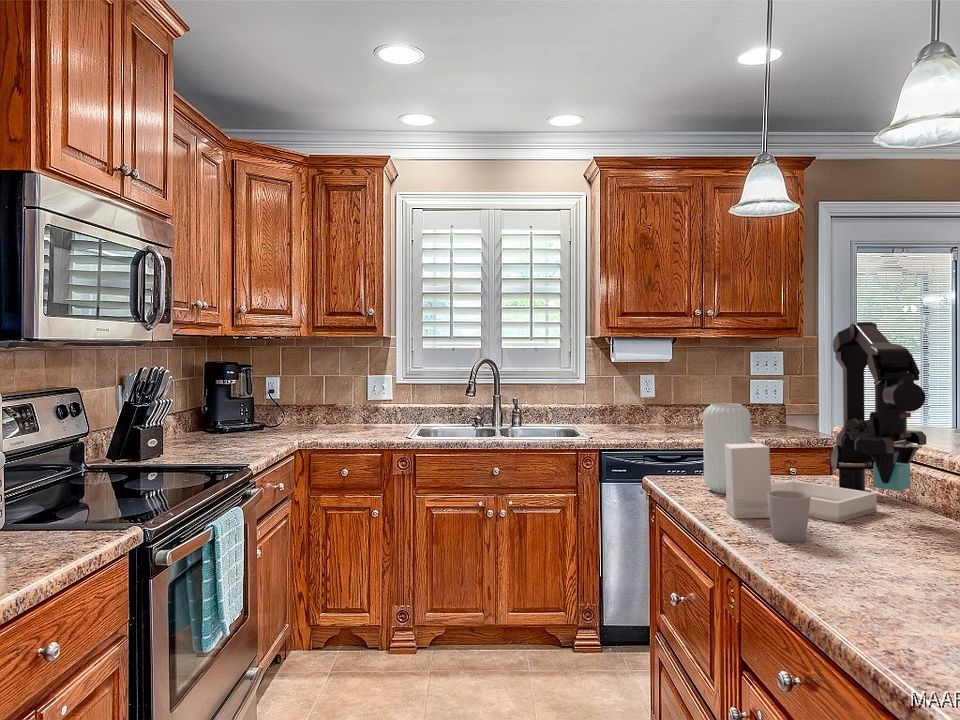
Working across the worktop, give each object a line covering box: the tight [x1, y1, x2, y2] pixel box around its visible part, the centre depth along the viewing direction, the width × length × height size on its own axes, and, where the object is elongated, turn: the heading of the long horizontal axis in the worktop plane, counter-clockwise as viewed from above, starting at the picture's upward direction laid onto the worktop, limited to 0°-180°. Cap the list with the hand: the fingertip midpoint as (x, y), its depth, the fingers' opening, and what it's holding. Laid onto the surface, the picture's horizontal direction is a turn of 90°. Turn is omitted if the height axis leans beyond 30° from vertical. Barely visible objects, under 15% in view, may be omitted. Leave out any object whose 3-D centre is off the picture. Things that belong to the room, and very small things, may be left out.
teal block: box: [872, 463, 911, 492], centre depth 144 cm, size 5×5×5 cm
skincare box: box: [725, 442, 772, 520], centre depth 150 cm, size 8×7×16 cm
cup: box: [767, 491, 810, 543], centre depth 132 cm, size 8×10×8 cm
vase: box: [702, 403, 752, 495], centre depth 176 cm, size 12×12×22 cm
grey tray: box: [771, 479, 878, 523], centre depth 155 cm, size 16×20×4 cm
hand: (891, 481), depth 144 cm, fingers closed on teal block, 5 cm apart
